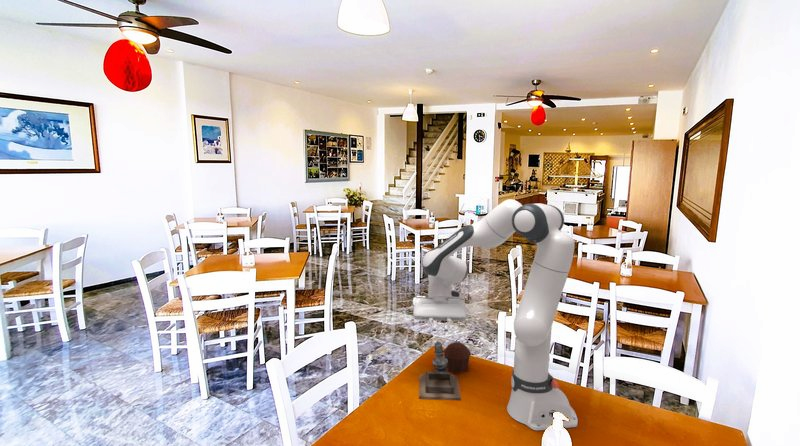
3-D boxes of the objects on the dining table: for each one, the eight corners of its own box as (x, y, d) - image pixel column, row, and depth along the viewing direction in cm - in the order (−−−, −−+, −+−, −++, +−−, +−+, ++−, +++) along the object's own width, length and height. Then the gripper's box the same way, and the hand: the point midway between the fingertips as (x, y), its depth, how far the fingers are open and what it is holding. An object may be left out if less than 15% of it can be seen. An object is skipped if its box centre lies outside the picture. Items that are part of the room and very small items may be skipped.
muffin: (442, 359, 170) (443, 338, 169) (468, 360, 170) (468, 338, 168) (444, 374, 158) (445, 351, 157) (472, 375, 158) (472, 351, 156)
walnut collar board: (457, 377, 156) (457, 369, 155) (460, 400, 141) (461, 391, 140) (419, 376, 157) (419, 368, 156) (419, 398, 142) (419, 389, 141)
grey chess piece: (447, 374, 145) (444, 344, 142) (432, 373, 146) (428, 344, 144) (450, 365, 150) (446, 336, 148) (435, 365, 152) (431, 336, 150)
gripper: (412, 292, 151) (411, 326, 143) (466, 293, 150) (468, 328, 141) (412, 299, 156) (412, 333, 148) (464, 300, 155) (466, 334, 146)
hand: (440, 330), depth 144 cm, fingers open, 3 cm apart
